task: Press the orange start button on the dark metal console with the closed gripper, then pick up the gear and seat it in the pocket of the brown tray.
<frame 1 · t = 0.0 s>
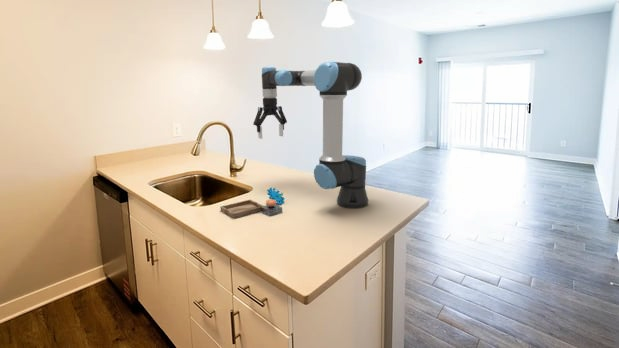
hand: (271, 137, 190), 28 cm above the worktop, tool pointing down, fingers open, 13 cm apart
brown tray: (242, 210, 159), on the worktop
gear: (276, 203, 170), on the worktop
button: (271, 203, 156), point 4 cm above the worktop, slide at 0.0 cm
console: (271, 212, 157), on the worktop
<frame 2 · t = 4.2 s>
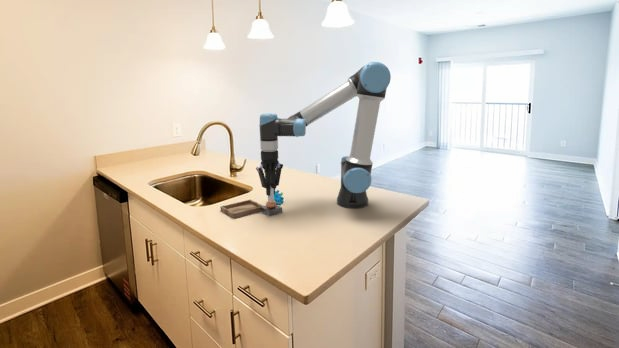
hand: (271, 201, 156), 5 cm above the worktop, tool pointing down, fingers closed
button: (271, 205, 156), point 3 cm above the worktop, slide at 0.7 cm, touching gripper
everything else where it was.
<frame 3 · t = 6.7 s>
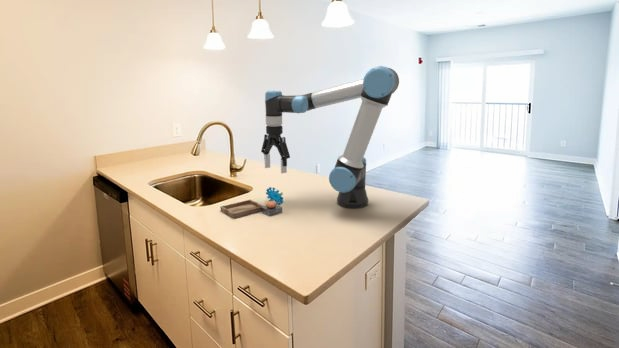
hand: (275, 170, 165), 16 cm above the worktop, tool pointing down, fingers open, 13 cm apart
button: (271, 205, 156), point 3 cm above the worktop, slide at 0.7 cm
everything else where it was.
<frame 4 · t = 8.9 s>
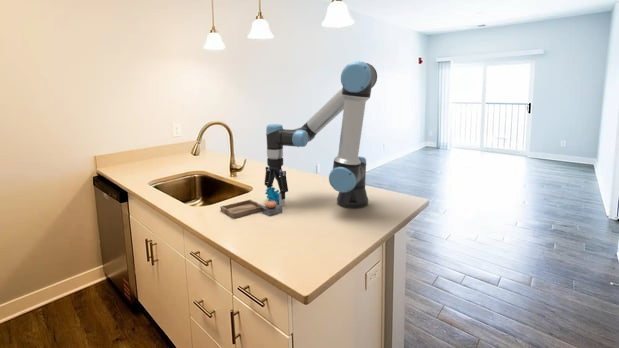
hand: (276, 202, 169), 0 cm above the worktop, tool pointing down, fingers open, 9 cm apart
gear: (275, 203, 170), on the worktop, touching gripper
everything else where it was.
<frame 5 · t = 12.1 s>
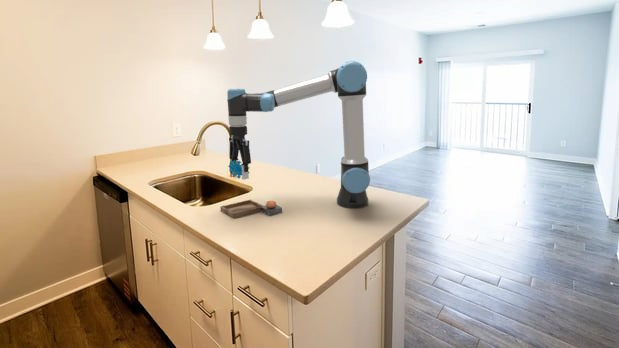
hand: (240, 176, 155), 16 cm above the worktop, tool pointing down, fingers closed on gear, 8 cm apart
gear: (240, 177, 155), point 16 cm above the worktop, touching gripper
everything else where it was.
when the fingers open (2 cm above the worktop, at t = 14.9 s): gear drops 1 cm, resting on brown tray.
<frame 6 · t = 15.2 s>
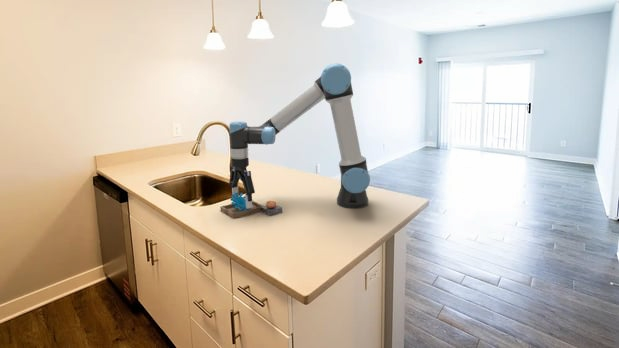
hand: (242, 204, 158), 3 cm above the worktop, tool pointing down, fingers open, 11 cm apart
gear: (242, 210, 159), resting on brown tray
everything else where it was.
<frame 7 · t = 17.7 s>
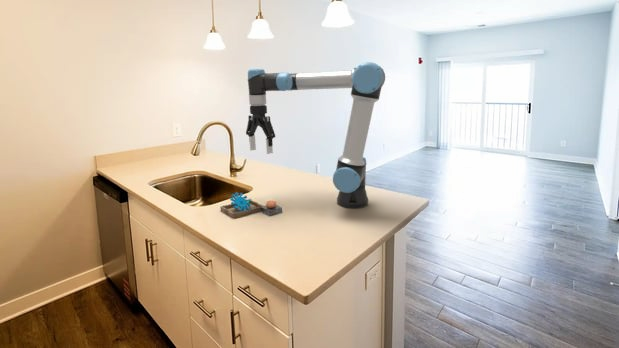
hand: (261, 151, 161), 26 cm above the worktop, tool pointing down, fingers open, 13 cm apart
nothing on the worktop moved.
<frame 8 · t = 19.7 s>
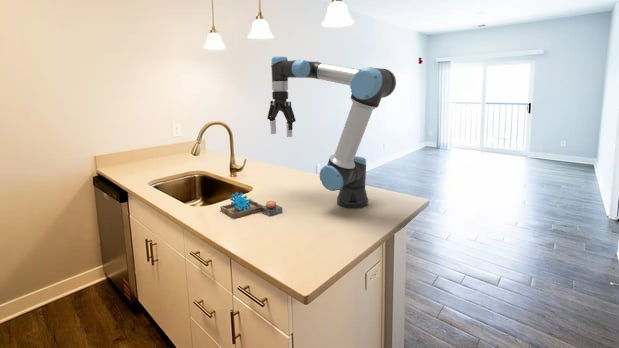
hand: (281, 135, 171), 32 cm above the worktop, tool pointing down, fingers open, 13 cm apart
nothing on the worktop moved.
at the end: gear inside the target area on the brown tray (0.4 cm from its centre), point 0.4 cm above the brown tray's base; the gripper is holding nothing; button slide at 0.7 cm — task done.
